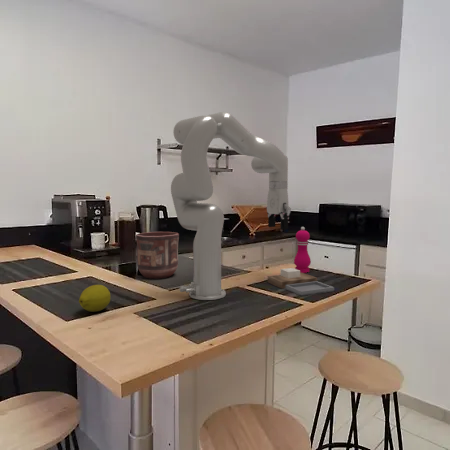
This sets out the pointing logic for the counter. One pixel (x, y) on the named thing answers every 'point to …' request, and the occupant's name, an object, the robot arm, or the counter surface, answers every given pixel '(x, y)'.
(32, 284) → the counter surface
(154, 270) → the pottery
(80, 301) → the lemon
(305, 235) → the pepper mill
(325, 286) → the tray
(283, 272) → the tile
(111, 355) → the counter surface
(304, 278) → the walnut plate
